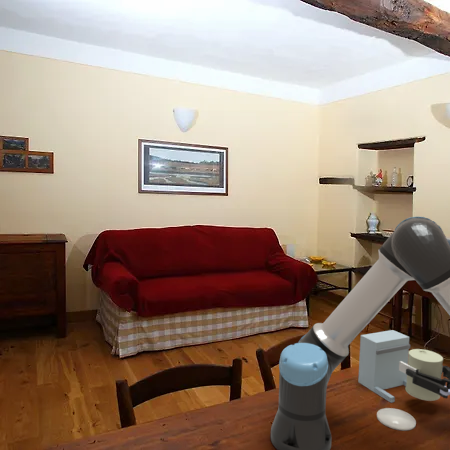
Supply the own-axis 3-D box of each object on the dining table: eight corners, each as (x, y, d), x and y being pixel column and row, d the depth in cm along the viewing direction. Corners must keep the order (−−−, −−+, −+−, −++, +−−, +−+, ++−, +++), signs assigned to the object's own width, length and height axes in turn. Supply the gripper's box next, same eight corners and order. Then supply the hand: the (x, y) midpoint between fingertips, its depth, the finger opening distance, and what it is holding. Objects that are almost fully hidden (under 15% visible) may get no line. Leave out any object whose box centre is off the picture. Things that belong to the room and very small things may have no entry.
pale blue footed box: (424, 393, 129) (427, 344, 127) (390, 402, 123) (393, 351, 122) (390, 374, 142) (392, 329, 140) (358, 382, 136) (360, 335, 134)
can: (432, 386, 125) (435, 348, 124) (445, 402, 116) (449, 361, 115) (401, 383, 126) (404, 346, 125) (411, 399, 117) (415, 359, 116)
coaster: (391, 432, 108) (391, 430, 108) (369, 412, 118) (369, 410, 118) (424, 428, 111) (424, 425, 111) (400, 408, 120) (400, 406, 120)
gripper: (453, 423, 100) (383, 381, 121) (509, 406, 109) (435, 369, 129) (456, 393, 99) (385, 356, 120) (512, 379, 108) (437, 346, 128)
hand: (411, 363), depth 125 cm, fingers closed on can, 9 cm apart
